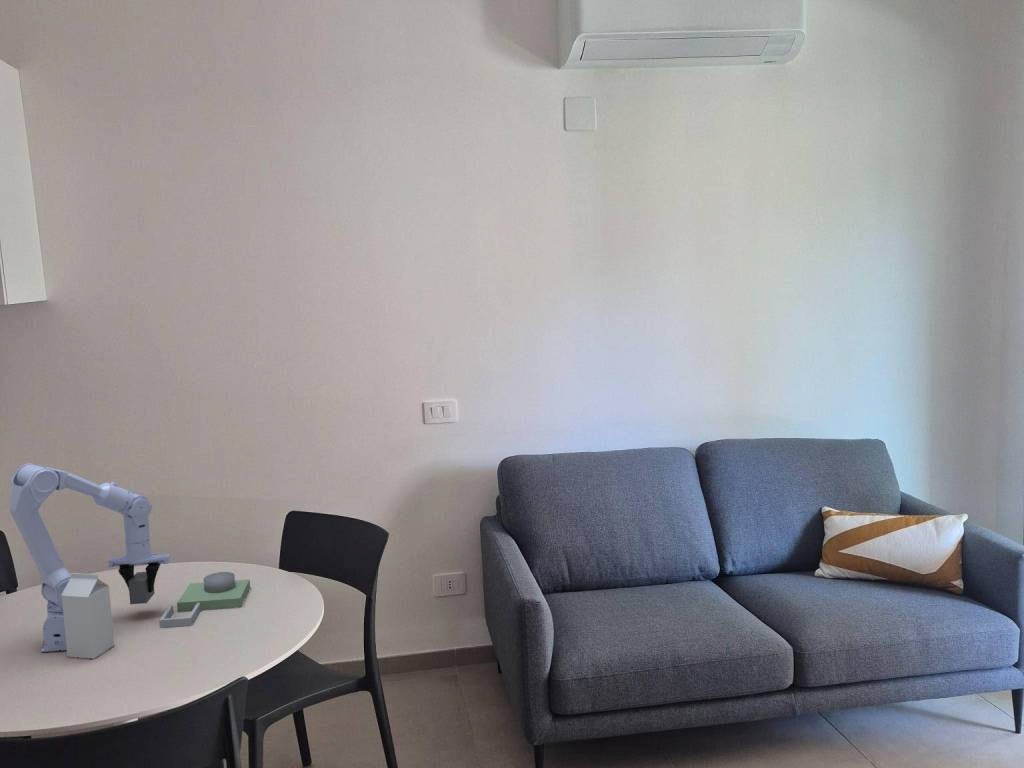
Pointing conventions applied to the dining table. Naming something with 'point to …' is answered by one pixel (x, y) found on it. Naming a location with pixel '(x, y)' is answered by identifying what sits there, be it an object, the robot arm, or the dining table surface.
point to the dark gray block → (139, 589)
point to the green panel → (207, 598)
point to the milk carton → (87, 616)
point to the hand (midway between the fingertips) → (141, 591)
